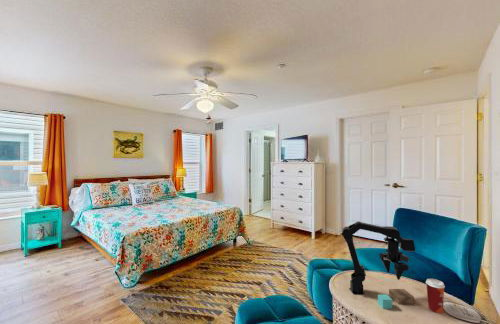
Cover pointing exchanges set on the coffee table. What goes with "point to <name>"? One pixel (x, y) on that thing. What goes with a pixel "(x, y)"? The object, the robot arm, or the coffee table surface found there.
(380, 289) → the coffee table surface
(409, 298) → the walnut block
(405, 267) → the robot arm
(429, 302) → the coffee cup
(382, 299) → the teal cube
